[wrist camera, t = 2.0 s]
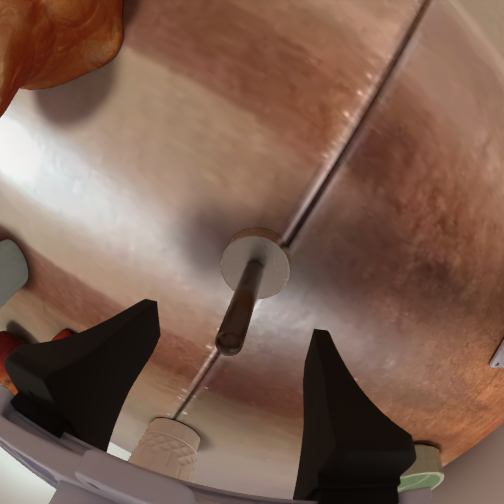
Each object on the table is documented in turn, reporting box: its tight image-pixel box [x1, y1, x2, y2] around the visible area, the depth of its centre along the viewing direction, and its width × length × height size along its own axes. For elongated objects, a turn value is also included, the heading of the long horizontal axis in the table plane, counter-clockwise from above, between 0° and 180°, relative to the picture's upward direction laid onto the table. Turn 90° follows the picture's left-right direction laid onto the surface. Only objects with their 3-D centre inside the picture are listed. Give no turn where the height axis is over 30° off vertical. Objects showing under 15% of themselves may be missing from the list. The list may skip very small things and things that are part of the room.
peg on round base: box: [215, 228, 291, 356], centre depth 16 cm, size 4×4×9 cm
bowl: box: [397, 444, 444, 493], centre depth 27 cm, size 13×13×5 cm
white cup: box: [128, 418, 200, 482], centre depth 27 cm, size 8×8×10 cm
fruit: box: [0, 331, 27, 395], centre depth 28 cm, size 11×10×10 cm
